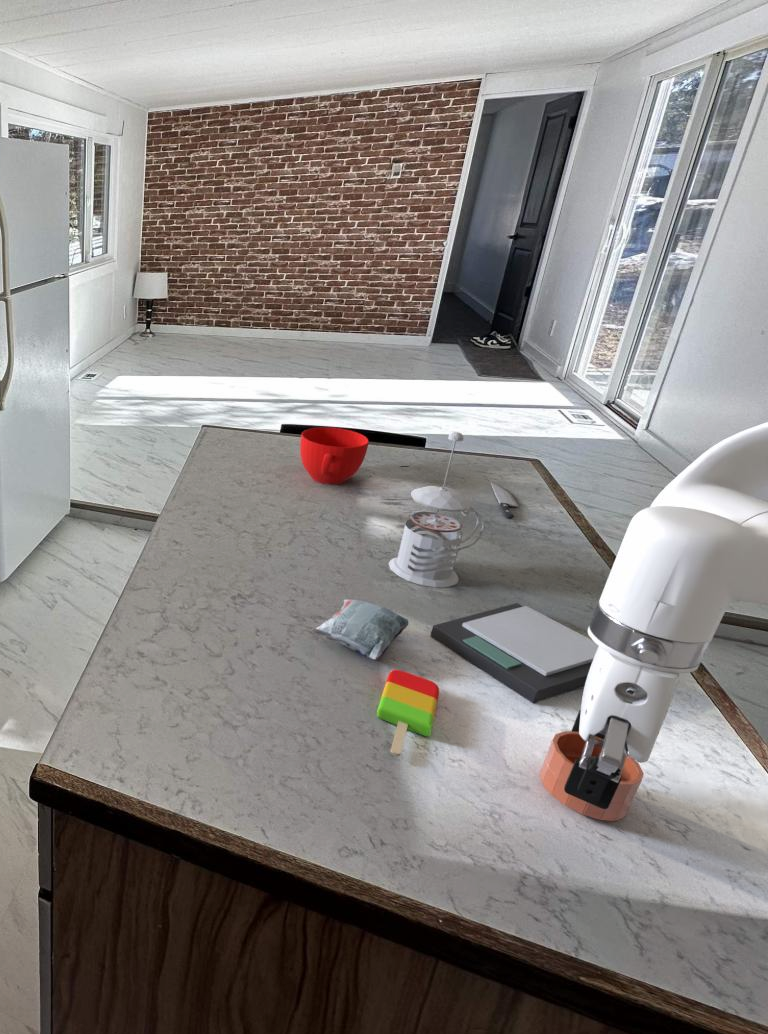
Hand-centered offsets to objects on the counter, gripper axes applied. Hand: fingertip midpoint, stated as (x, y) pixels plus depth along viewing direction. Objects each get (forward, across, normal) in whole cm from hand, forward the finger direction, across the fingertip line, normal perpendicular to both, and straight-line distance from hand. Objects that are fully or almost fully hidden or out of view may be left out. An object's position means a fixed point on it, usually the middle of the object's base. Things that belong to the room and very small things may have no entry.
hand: (587, 769), depth 66 cm
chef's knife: (+3, +79, +14) cm, 80 cm away
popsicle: (+4, 0, +16) cm, 16 cm away
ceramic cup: (+4, +68, +45) cm, 82 cm away
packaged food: (+4, +14, +24) cm, 28 cm away
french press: (+4, +40, +21) cm, 45 cm away
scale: (+4, +24, +7) cm, 25 cm away
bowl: (+4, 0, 0) cm, 4 cm away
